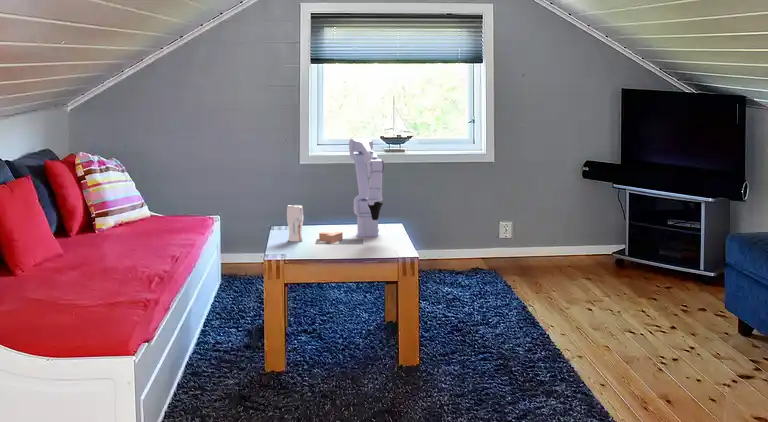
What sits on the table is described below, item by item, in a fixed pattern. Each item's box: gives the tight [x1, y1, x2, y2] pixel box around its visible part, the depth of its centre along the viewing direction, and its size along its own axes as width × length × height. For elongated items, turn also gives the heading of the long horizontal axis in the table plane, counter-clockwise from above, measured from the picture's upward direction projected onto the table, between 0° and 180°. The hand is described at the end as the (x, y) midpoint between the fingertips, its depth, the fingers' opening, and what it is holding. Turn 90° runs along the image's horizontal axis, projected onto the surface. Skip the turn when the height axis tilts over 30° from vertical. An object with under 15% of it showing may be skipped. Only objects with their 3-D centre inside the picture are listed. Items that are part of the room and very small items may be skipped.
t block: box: [318, 231, 344, 243], centre depth 318 cm, size 8×9×3 cm
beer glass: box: [286, 204, 304, 243], centre depth 318 cm, size 7×7×15 cm
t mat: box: [314, 238, 364, 245], centre depth 315 cm, size 20×12×1 cm, turn 92°
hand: (375, 219), depth 317 cm, fingers closed
